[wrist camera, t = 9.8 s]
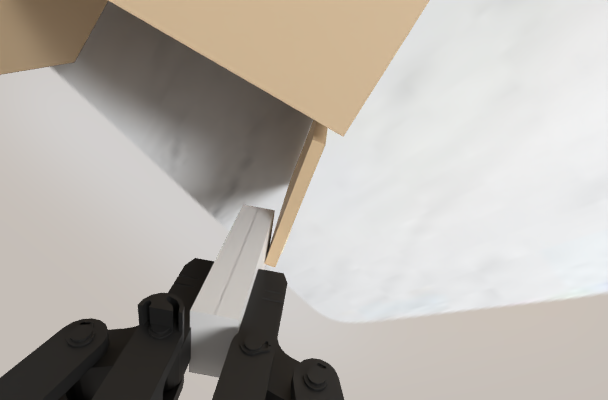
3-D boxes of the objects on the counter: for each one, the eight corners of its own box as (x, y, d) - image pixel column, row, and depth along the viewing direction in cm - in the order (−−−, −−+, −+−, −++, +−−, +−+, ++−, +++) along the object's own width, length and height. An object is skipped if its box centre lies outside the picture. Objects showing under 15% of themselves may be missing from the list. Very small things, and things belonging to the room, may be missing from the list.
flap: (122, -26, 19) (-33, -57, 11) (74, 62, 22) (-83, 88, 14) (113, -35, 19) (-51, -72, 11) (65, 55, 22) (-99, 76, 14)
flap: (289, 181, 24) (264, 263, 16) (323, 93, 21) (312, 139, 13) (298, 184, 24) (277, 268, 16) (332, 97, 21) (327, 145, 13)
